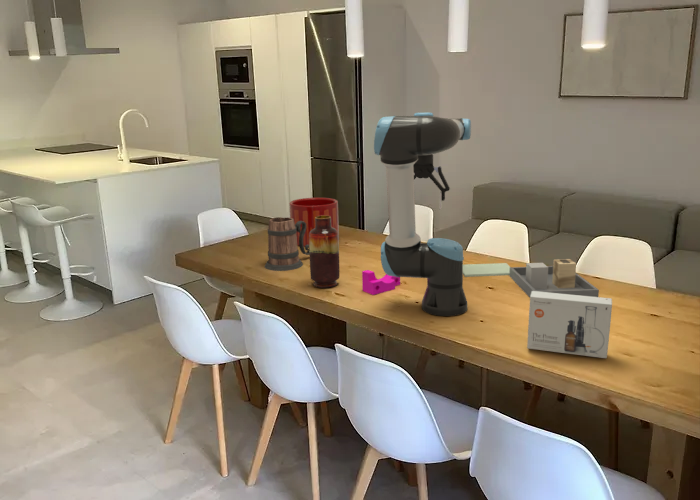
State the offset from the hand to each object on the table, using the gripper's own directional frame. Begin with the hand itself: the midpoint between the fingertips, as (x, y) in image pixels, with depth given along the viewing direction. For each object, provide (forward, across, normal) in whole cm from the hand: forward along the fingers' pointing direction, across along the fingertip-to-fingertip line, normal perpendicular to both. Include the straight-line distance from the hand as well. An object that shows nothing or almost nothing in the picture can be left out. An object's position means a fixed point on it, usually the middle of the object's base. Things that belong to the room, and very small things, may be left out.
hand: (423, 208), depth 245 cm
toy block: (+26, +12, +23) cm, 37 cm away
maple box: (+25, -52, +12) cm, 59 cm away
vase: (+26, +35, +21) cm, 48 cm away
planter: (+25, +56, -42) cm, 74 cm away
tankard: (+26, +57, -4) cm, 62 cm away
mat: (+26, -25, -4) cm, 36 cm away
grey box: (+25, -43, +15) cm, 52 cm away
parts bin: (+26, -48, +13) cm, 56 cm away
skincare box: (+27, -47, +70) cm, 89 cm away
